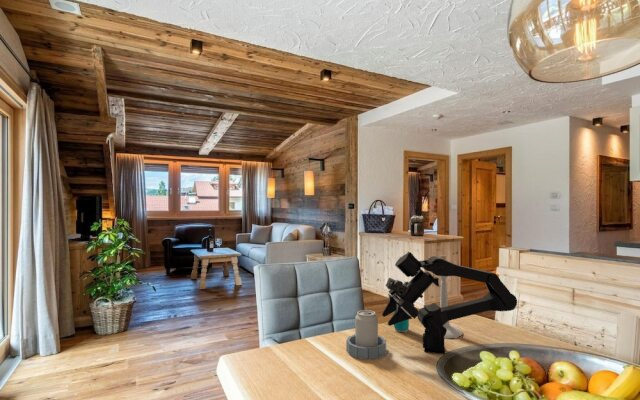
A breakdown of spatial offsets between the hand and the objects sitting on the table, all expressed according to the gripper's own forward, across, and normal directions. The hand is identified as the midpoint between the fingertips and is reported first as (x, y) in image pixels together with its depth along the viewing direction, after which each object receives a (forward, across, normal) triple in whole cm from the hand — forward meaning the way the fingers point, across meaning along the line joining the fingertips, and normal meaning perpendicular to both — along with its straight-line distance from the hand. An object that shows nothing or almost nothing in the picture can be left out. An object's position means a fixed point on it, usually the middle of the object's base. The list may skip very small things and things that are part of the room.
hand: (385, 320), depth 119 cm
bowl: (+12, 0, +2) cm, 12 cm away
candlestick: (-10, -16, +26) cm, 32 cm away
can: (+11, 0, +2) cm, 11 cm away
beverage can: (0, -19, +14) cm, 24 cm away
